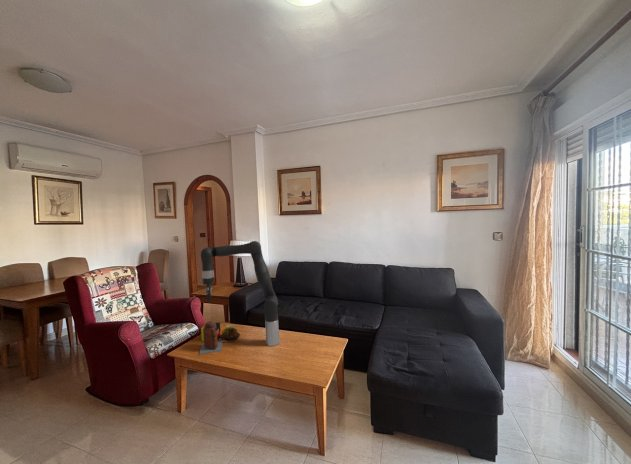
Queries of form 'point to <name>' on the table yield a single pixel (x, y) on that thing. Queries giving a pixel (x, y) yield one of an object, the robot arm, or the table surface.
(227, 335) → the green-brown rounded mound
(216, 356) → the table surface
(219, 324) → the puzzle toy
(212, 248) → the robot arm
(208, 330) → the wooden figurine
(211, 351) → the gray square panel
